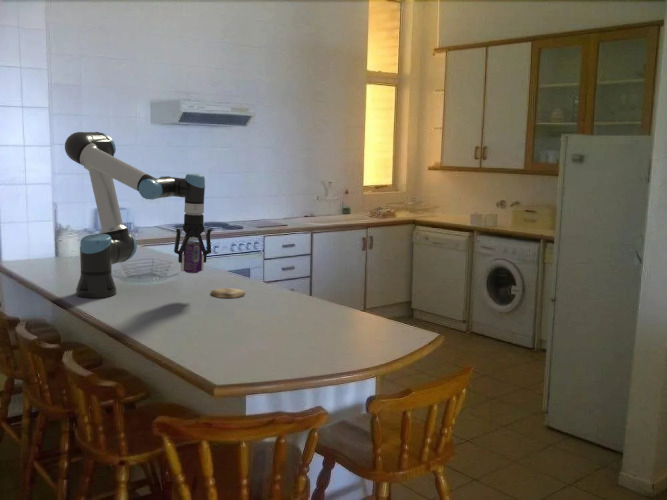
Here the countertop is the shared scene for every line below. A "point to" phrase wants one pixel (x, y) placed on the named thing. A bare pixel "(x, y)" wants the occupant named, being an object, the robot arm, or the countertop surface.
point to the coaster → (227, 293)
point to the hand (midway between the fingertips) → (192, 270)
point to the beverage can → (192, 257)
